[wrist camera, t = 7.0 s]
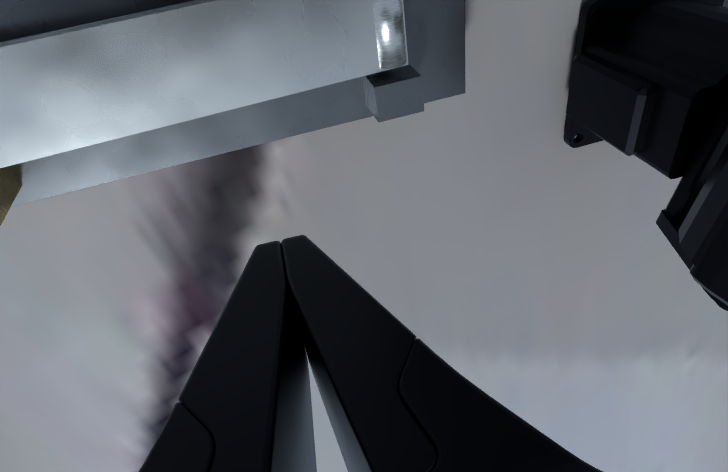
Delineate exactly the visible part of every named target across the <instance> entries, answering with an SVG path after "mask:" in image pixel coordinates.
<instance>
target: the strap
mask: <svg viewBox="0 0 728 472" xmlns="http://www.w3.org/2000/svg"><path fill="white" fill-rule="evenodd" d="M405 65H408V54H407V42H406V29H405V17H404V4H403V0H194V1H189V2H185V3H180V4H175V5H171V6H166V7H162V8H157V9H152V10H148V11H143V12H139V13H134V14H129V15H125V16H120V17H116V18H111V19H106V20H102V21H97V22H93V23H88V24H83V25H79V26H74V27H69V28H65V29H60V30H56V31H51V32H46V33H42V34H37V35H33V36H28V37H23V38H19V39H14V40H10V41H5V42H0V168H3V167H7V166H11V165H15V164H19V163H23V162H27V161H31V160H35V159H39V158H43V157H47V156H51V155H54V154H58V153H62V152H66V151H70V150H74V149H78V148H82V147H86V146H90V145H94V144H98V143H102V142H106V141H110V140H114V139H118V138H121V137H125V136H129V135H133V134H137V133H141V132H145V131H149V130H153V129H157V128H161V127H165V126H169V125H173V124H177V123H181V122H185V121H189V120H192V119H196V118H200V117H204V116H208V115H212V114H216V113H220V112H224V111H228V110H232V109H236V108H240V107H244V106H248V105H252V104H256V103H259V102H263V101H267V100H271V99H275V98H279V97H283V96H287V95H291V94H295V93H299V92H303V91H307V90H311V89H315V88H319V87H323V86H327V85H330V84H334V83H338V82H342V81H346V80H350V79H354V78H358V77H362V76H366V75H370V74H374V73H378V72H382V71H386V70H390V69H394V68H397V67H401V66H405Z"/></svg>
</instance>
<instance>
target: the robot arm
mask: <svg viewBox="0 0 728 472" xmlns="http://www.w3.org/2000/svg"><path fill="white" fill-rule="evenodd" d="M723 2H724V0H588V1H587V2H586V3H585V4H584V5H583V7H582V9H581V12H580V19H579V26H578V34H577V41H576V49H575V56H574V60H573V65H572V73H571V80H570V88H569V96H568V103H567V111H566V113H567V116H566V124H565V131H564V141H565V143H566V144H568V145H569V146H570V147H573V148H577V147H581V146H584V145H588V144H592V143H595V142H599V141H603V140H605V141H606V142H608V143H609V144H611V145H612V146H614V147H615V148H617V149H618V150H620V151H621V152H623V153H624V154H626V155H628V156H631V155H635V156H636V157H638V158H639V159H641V160H642V161H644V162H646V163H647V164H649V165H650V166H652V167H653V168H655V169H656V170H658V171H659V172H661V173H662V174H664V175H665V176H667V177H668V178H670V179H675V178H679V177H682V176H683V177H682V179H681V180H680V182H679V184H678V186H677V188H676V190H675V192H674V194H673V196H672V198H671V199H670V201H669V203H668V205H667V207H666V209H664V210H662V211H661V213H660V215H659V217H658V219H657V221H656V224H657V225H658V227H659V228H660V229H661V231H662V232H663V234H664V235H665V236H666V238H667V239H668V240H669V242H670V243H671V245H672V246H673V247H674V249H675V250H676V252H677V253H678V254H679V256H680V257H681V259H682V260H683V261H684V263H685V264H686V266H687V267H688V268H689V270H690V273H691V275H692V277H693V278H694V280H695V281H696V282H697V283H699V284H700V285H701V287H702V288H703V289H704V290H705V292H706V293H707V294H708V295H709V296H710V297H711V298H712V299H713V300H714V301H715V302H716V303H717V304H718V305H719V306H720V307H721V308H722V309H724V310H726V311H728V8H726V7H722V5H723ZM596 7H597V12H596V14H595V15H594V16H593V17H592V13H593V10H594V9H595V8H596ZM576 134H578V135H577V137H576V138H574V137H575V136H576ZM305 348H306V349H305ZM306 352H307V354H306ZM307 356H308V360H309V363H310V366H311V369H312V372H313V375H314V378H315V381H316V383H317V386H318V389H319V392H320V394H321V397H322V400H323V403H324V406H325V408H326V411H327V414H328V417H329V419H330V422H331V425H332V428H333V431H334V433H335V436H336V439H337V442H338V444H339V447H340V450H341V453H342V456H343V458H344V461H345V464H346V467H347V469H348V472H603V471H601V470H599V469H597V468H595V467H593V466H591V465H589V464H588V463H586V462H584V461H582V460H581V459H579V458H578V457H576V456H575V455H573V454H572V453H570V452H569V451H567V450H566V449H564V448H563V447H561V446H560V445H559V444H557V443H556V442H554V441H553V440H551V439H550V438H549V437H547V436H546V435H544V434H543V433H541V432H540V431H539V430H537V429H536V428H534V427H533V426H531V425H530V424H529V423H527V422H526V421H524V420H523V419H522V418H520V417H519V416H517V415H516V414H514V413H513V412H512V411H510V410H509V409H507V408H506V407H504V406H503V405H502V404H500V403H499V402H497V401H496V400H494V399H493V398H492V397H490V396H489V395H487V394H486V393H485V392H483V391H482V390H481V389H479V388H478V387H477V386H475V385H474V384H473V383H471V382H470V381H469V380H467V379H466V378H465V377H463V376H462V375H460V374H459V373H458V372H457V371H456V370H454V369H453V368H452V367H451V366H450V365H449V364H447V363H446V362H445V361H444V360H443V359H441V358H440V357H439V356H438V355H437V354H435V353H434V352H433V351H432V350H431V349H430V348H429V347H428V346H427V345H426V344H425V343H423V342H422V341H421V340H420V339H416V336H415V335H414V334H413V333H412V332H411V331H410V330H409V329H408V328H407V327H405V326H404V325H403V324H402V323H401V322H400V321H399V320H398V319H397V318H396V317H394V316H393V315H392V314H391V313H390V312H389V311H388V310H387V309H386V308H384V307H383V306H382V305H381V304H380V303H379V302H378V301H377V300H376V299H375V298H373V297H372V296H371V295H370V294H369V293H368V292H367V291H366V290H365V289H364V288H362V287H361V286H360V285H359V284H358V283H357V282H356V281H355V280H354V279H352V278H351V277H350V276H349V275H348V274H347V273H346V272H345V271H344V270H343V269H341V268H340V267H339V266H338V265H337V264H336V263H335V262H334V261H333V260H332V259H330V258H329V257H328V256H327V255H326V254H325V253H324V252H323V251H322V250H320V249H319V248H318V247H317V246H316V245H315V244H314V243H313V242H312V241H311V240H309V239H308V238H307V237H306V236H304V235H299V236H295V237H291V238H286V239H283V240H282V242H281V243H280V242H279V241H273V242H269V243H265V244H260V245H257V246H256V247H255V249H254V251H253V253H252V255H251V257H250V259H249V261H248V263H247V265H246V267H245V269H244V271H243V273H242V275H241V277H240V278H239V280H238V282H237V284H236V286H235V288H234V290H233V292H232V294H231V296H230V298H229V300H228V302H227V304H226V306H225V308H224V310H223V312H222V314H221V316H220V318H219V320H218V322H217V324H216V326H215V328H214V330H213V332H212V334H211V336H210V338H209V339H208V341H207V343H206V345H205V347H204V349H203V351H202V353H201V355H200V357H199V359H198V361H197V363H196V365H195V367H194V369H193V371H192V373H191V375H190V377H189V379H188V381H187V383H186V385H185V387H184V389H183V391H182V393H181V395H180V397H179V399H178V400H179V402H178V403H176V404H175V406H174V408H173V410H172V412H171V414H170V416H169V418H168V420H167V422H166V424H165V425H164V427H163V429H162V431H161V433H160V435H159V437H158V438H157V440H156V442H155V444H154V446H153V448H152V449H151V451H150V453H149V455H148V457H147V459H146V460H145V462H144V464H143V465H142V467H141V469H140V470H139V472H317V469H316V456H315V443H314V430H313V417H312V404H311V392H310V379H309V368H308V360H307Z"/></svg>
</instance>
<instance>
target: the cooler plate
mask: <svg viewBox="0 0 728 472" xmlns="http://www.w3.org/2000/svg"><path fill="white" fill-rule="evenodd" d="M189 1H194V0H0V42H5V41H10V40H14V39H19V38H23V37H28V36H33V35H37V34H42V33H46V32H51V31H56V30H60V29H65V28H69V27H74V26H79V25H83V24H88V23H93V22H97V21H102V20H106V19H111V18H116V17H120V16H125V15H129V14H134V13H139V12H143V11H148V10H152V9H157V8H162V7H166V6H171V5H175V4H180V3H185V2H189ZM403 4H404V17H405V29H406V42H407V54H408V65H405V66H401V67H397V68H394V69H390V70H386V71H382V72H378V73H374V74H370V75H366V76H362V77H358V78H354V79H350V80H346V81H342V82H338V83H334V84H330V85H327V86H323V87H319V88H315V89H311V90H307V91H303V92H299V93H295V94H291V95H287V96H283V97H279V98H275V99H271V100H267V101H263V102H259V103H256V104H252V105H248V106H244V107H240V108H236V109H232V110H228V111H224V112H220V113H216V114H212V115H208V116H204V117H200V118H196V119H192V120H189V121H185V122H181V123H177V124H173V125H169V126H165V127H161V128H157V129H153V130H149V131H145V132H141V133H137V134H133V135H129V136H125V137H121V138H118V139H114V140H110V141H106V142H102V143H98V144H94V145H90V146H86V147H82V148H78V149H74V150H70V151H66V152H62V153H58V154H54V155H51V156H47V157H43V158H39V159H35V160H31V161H27V162H23V163H19V164H15V165H11V166H7V167H3V168H0V225H1V223H2V222H3V220H4V218H5V216H6V214H7V213H8V211H9V209H10V207H11V206H14V205H18V204H22V203H26V202H30V201H34V200H38V199H42V198H46V197H50V196H54V195H58V194H62V193H66V192H70V191H74V190H78V189H82V188H86V187H90V186H94V185H98V184H102V183H106V182H110V181H114V180H118V179H122V178H126V177H130V176H134V175H138V174H142V173H146V172H151V171H155V170H159V169H163V168H167V167H171V166H175V165H179V164H183V163H187V162H191V161H195V160H199V159H203V158H207V157H211V156H215V155H219V154H223V153H227V152H231V151H235V150H239V149H243V148H247V147H251V146H255V145H259V144H263V143H267V142H271V141H275V140H279V139H283V138H287V137H291V136H295V135H299V134H303V133H307V132H311V131H315V130H319V129H323V128H327V127H331V126H335V125H339V124H343V123H347V122H351V121H355V120H359V119H363V118H367V117H371V116H375V118H376V119H377V121H378V122H382V121H386V120H390V119H394V118H398V117H402V116H406V115H410V114H414V113H418V112H422V111H424V103H427V102H431V101H435V100H439V99H443V98H447V97H451V96H455V95H459V94H463V93H465V0H403Z"/></svg>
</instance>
